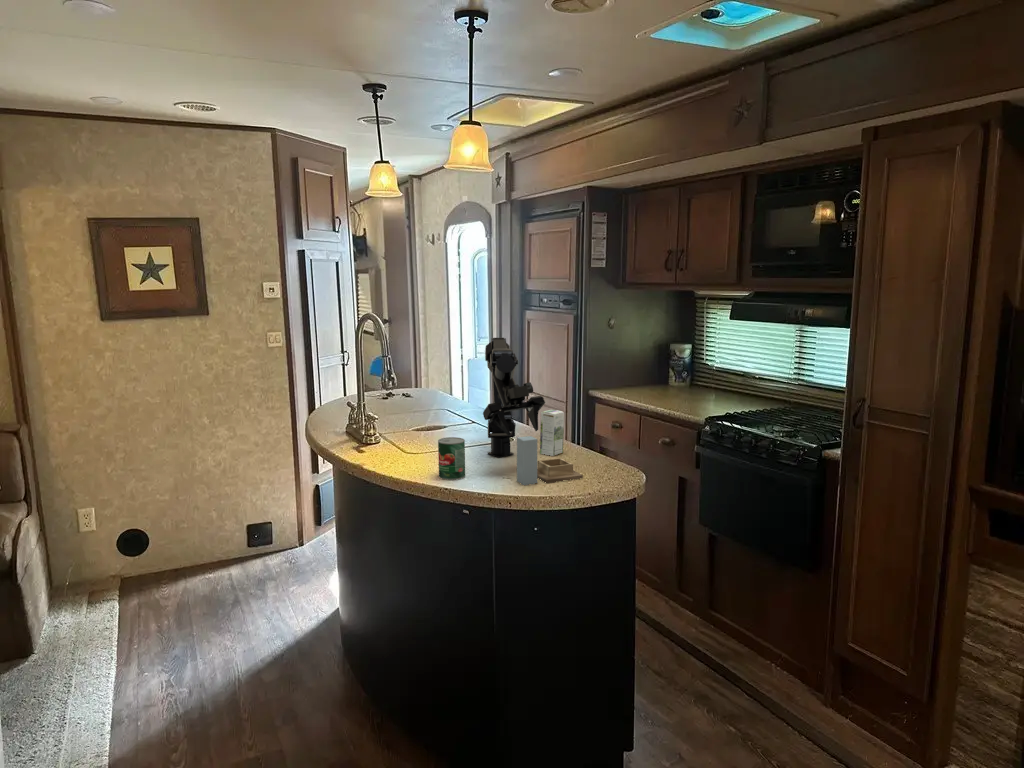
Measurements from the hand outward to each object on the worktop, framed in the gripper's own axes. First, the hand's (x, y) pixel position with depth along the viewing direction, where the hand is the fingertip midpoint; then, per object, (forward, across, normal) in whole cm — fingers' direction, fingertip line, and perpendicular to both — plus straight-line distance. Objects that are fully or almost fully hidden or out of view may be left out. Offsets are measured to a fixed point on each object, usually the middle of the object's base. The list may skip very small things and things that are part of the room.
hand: (523, 432), depth 202 cm
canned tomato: (+4, -20, +14) cm, 25 cm away
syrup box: (+1, +20, +23) cm, 30 cm away
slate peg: (+14, -4, +2) cm, 15 cm away
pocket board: (+14, +7, +4) cm, 16 cm away
